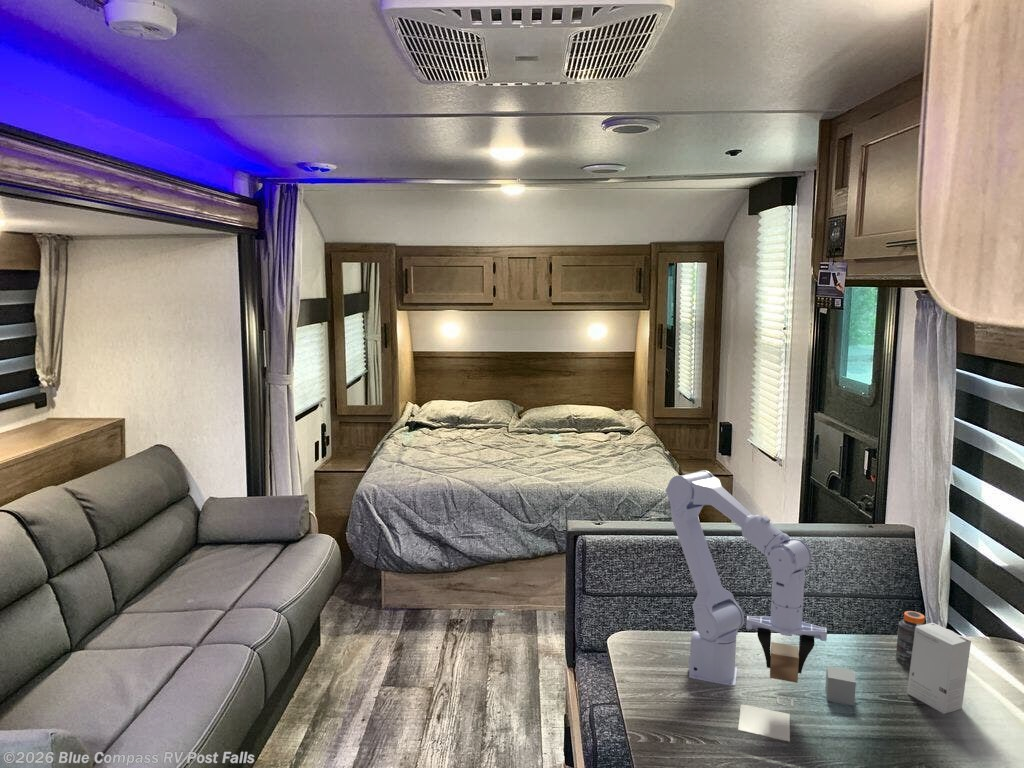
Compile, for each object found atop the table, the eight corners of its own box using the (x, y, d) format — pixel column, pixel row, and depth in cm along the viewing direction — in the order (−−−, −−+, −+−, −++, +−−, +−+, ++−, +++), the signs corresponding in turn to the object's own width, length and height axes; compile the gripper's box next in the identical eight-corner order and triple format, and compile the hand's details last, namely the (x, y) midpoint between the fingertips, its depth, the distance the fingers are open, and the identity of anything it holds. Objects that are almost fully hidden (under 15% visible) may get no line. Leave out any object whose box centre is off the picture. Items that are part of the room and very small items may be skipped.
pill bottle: (930, 670, 151) (934, 621, 150) (901, 667, 153) (904, 618, 151) (920, 657, 157) (923, 609, 156) (892, 654, 158) (895, 607, 157)
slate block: (826, 700, 139) (828, 677, 138) (825, 688, 144) (826, 665, 143) (854, 706, 137) (855, 682, 136) (852, 693, 142) (853, 670, 141)
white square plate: (737, 732, 129) (738, 729, 129) (740, 706, 137) (740, 704, 137) (789, 743, 126) (789, 740, 126) (789, 716, 134) (789, 714, 134)
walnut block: (769, 677, 135) (771, 653, 134) (770, 665, 139) (771, 641, 139) (797, 682, 133) (798, 658, 132) (796, 670, 137) (798, 646, 137)
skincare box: (906, 694, 142) (911, 625, 140) (925, 688, 144) (930, 620, 143) (946, 716, 134) (951, 644, 133) (966, 709, 137) (972, 638, 135)
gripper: (747, 604, 133) (744, 671, 135) (829, 616, 128) (825, 685, 130) (748, 590, 140) (745, 654, 141) (826, 601, 135) (823, 667, 136)
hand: (783, 668), depth 136 cm, fingers closed on walnut block, 5 cm apart
